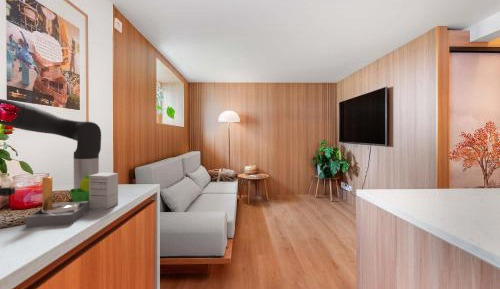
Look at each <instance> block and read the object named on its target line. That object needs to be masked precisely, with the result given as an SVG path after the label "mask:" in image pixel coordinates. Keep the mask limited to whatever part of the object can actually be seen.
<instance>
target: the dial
mask: <svg viewBox="0 0 500 289" xmlns="http://www.w3.org/2000/svg"><path fill="white" fill-rule="evenodd" d="M41 180H42V182H41V183H42V207H41V209H42V214H49V213H50V214H54V213H71V212H74V206H75V205H78V209H79V203H77V202H73V201H63V202H62V201H61V202H62V203H60V202H54V203H55V204H52V203H53V176H44V177H42V179H41Z"/></svg>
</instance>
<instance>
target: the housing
mask: <svg viewBox="0 0 500 289" xmlns="http://www.w3.org/2000/svg"><path fill="white" fill-rule="evenodd" d="M55 203H56V202H52V204H55ZM59 203H62V201H61V202H60V201H59ZM77 203H79V209H78V205H75V206H74V212H71V213H54V214H50V213H49V214H42V208H40V209H38V210H36V211H35V212H33V213H31V214H30V215H28V216H25V228H37V227H51V226H64V225H67V226H68V225H73V224H74V223H76V222H77V221H78V220H79V219H80V218H81V217H83V216H84V215H85V214H86V213H87V212H89V211H90V209H91V208H90V201H81V202H77Z"/></svg>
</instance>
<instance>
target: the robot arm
mask: <svg viewBox="0 0 500 289" xmlns="http://www.w3.org/2000/svg"><path fill="white" fill-rule="evenodd" d="M1 103H6V104H11V105H14V106H15V107H18V108H20V111H18V112H16V114H18V115H19V114H21V113H22V115H19V116H17V117H16V118H15V119H13V120H12V121H11V122H5V121H1V120H0V125H2V126H6V125H7V126H6V127H9V126H12V127H11V128H14V129H19V130H23V131H29V132H34V133H39V134H40V133H42V134H51V135H56V136H57V135H58V136H60V137H63V138H64V137H65V138H66V139H71V140H73V141H76V144H77V145H76V148H75V150H74V152H73V189H77V188H80V182H81V181H82V179H83V178H84V177H86V176H90V175H94V174H98V173H100V170H99V169H100V167H99V166H100V165H99V158H100V157H99V156H100V152H101V151H102V150H101V149H102V130H101V127H100V126H99V125H98V123H96V122H94V121H77V120H72V119H68V118H67V119H66V118H64V117H61V116H57V115H55V114H53V113H51V112H49V111H46V110H44V109H41V108H39V107H35V106H32V105H28V104H25V103H21V102H17V101H12V100H7V99H3V98H0V104H1ZM13 125H14V126H13ZM15 193H16V188H15V187H13V186H12V187H9V186H8V187H2V185H0V197H1V196H3V197H4V196H5V197H7V196H8V197H9V196H12V195H16V194H15Z"/></svg>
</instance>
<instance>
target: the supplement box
mask: <svg viewBox="0 0 500 289" xmlns="http://www.w3.org/2000/svg"><path fill="white" fill-rule="evenodd" d="M89 201H90V209H94V210H95V209H97V210H99V209H101V210H108V209H110V208H112V207H114V206H116V205H118V204H119V173H117V172H99V173H98V174H94V175H90V176H89Z"/></svg>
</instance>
